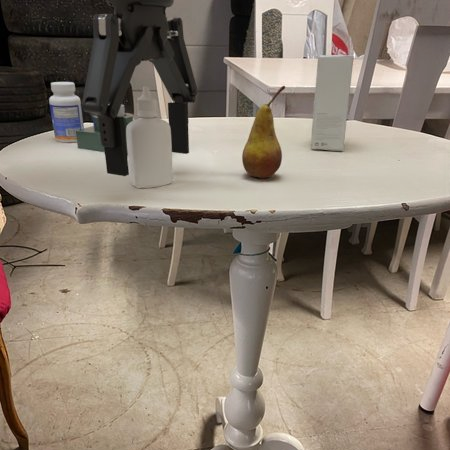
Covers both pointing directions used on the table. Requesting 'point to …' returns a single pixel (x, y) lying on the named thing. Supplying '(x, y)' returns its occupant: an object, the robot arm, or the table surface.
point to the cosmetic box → (331, 101)
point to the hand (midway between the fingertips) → (151, 162)
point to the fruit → (262, 145)
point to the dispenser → (96, 134)
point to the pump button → (121, 111)
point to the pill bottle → (65, 111)
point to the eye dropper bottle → (149, 145)
